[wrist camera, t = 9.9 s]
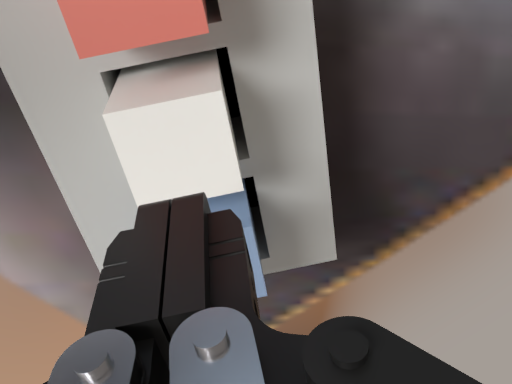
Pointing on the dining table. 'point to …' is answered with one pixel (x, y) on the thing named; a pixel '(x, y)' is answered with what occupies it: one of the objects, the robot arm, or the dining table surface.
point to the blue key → (243, 211)
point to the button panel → (245, 126)
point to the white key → (174, 129)
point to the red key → (130, 23)
